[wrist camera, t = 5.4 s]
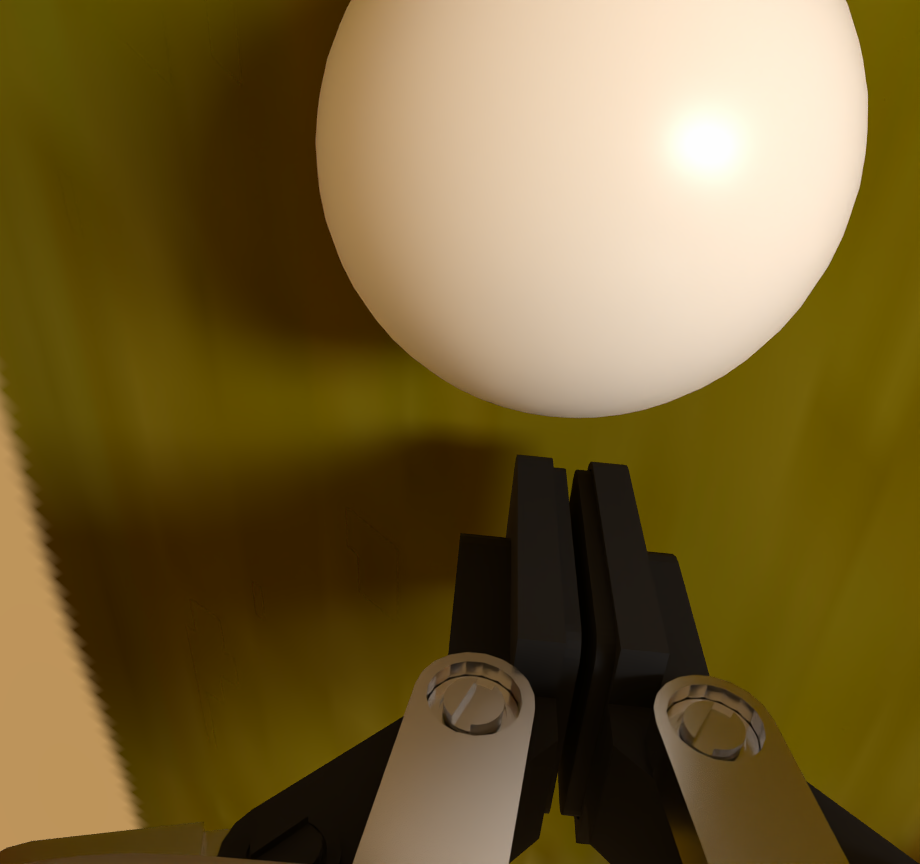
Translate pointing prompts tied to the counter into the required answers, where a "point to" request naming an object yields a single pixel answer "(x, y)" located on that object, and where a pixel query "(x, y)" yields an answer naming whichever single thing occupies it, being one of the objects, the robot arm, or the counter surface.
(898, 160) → the counter surface
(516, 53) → the cue ball
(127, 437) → the counter surface
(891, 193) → the counter surface
